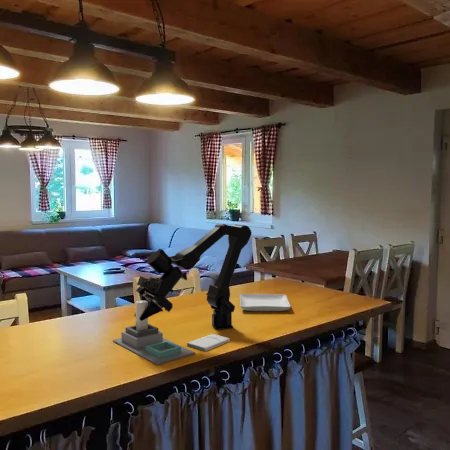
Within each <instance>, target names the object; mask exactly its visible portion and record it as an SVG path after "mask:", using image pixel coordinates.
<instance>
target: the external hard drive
mask: <svg viewBox="0 0 450 450" xmlns="http://www.w3.org/2000/svg"><path fill="white" fill-rule="evenodd" d="M230 339H231V338H229V337H226V336H222V335H218V334H214V333H211V334H208V335H206V336H203V337H199V338H197V339H195V340H191V341H189V342H187V343H186V346H187V347H190V348H193V349H196V350H198V351H199V350H200V351H202V352H207V351H210V350H212V349H215V348H217V347H220V346H222V345H224V343H225V344H226V342H227V343H229V342H231V341H230Z"/></svg>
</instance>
